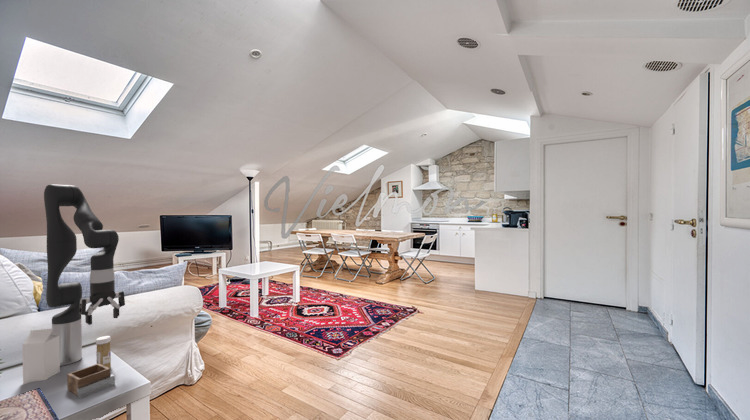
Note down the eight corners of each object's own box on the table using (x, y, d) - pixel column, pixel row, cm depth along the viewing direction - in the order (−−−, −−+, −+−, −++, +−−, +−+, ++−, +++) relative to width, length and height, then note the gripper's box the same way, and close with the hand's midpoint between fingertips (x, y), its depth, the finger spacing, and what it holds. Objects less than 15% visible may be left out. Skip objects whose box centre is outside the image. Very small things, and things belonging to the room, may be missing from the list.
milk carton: (45, 383, 122) (44, 332, 122) (22, 385, 121) (22, 333, 121) (60, 373, 129) (59, 325, 129) (39, 375, 128) (38, 326, 128)
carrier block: (67, 389, 115) (67, 374, 115) (98, 378, 123) (98, 363, 123) (78, 396, 111) (78, 380, 111) (110, 383, 118) (110, 368, 118)
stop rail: (76, 397, 110) (76, 387, 110) (112, 383, 119) (112, 374, 119) (79, 399, 109) (79, 389, 109) (114, 385, 118) (114, 375, 118)
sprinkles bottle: (110, 372, 130) (109, 338, 130) (95, 375, 127) (94, 340, 127) (111, 367, 134) (111, 334, 134) (97, 370, 131) (96, 337, 131)
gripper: (84, 284, 122) (84, 328, 122) (127, 277, 135) (128, 317, 135) (75, 283, 126) (76, 325, 126) (118, 276, 139) (119, 314, 138)
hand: (103, 321), depth 130 cm, fingers open, 8 cm apart
